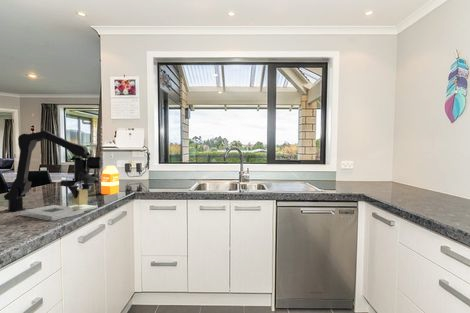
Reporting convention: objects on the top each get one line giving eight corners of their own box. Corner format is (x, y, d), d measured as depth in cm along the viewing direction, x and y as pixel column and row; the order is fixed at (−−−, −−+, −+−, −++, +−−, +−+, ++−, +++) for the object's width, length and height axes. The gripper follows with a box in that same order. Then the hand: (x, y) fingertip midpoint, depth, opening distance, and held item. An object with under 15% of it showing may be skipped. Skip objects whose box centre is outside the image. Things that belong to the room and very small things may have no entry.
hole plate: (20, 215, 127) (20, 211, 127) (54, 208, 142) (54, 204, 142) (51, 220, 119) (51, 216, 119) (83, 213, 134) (83, 209, 134)
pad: (63, 209, 141) (63, 207, 141) (80, 205, 150) (80, 203, 150) (79, 211, 136) (79, 209, 136) (96, 207, 146) (96, 206, 146)
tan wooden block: (72, 204, 142) (72, 189, 141) (81, 202, 146) (81, 188, 146) (79, 205, 140) (79, 190, 139) (87, 203, 144) (87, 189, 144)
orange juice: (118, 192, 195) (119, 165, 194) (110, 194, 187) (110, 166, 186) (110, 191, 197) (110, 165, 197) (101, 193, 189) (101, 165, 188)
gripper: (75, 170, 131) (74, 202, 131) (105, 168, 148) (105, 196, 149) (59, 169, 135) (59, 200, 135) (91, 167, 152) (90, 194, 153)
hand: (80, 197), depth 143 cm, fingers closed on tan wooden block, 5 cm apart
